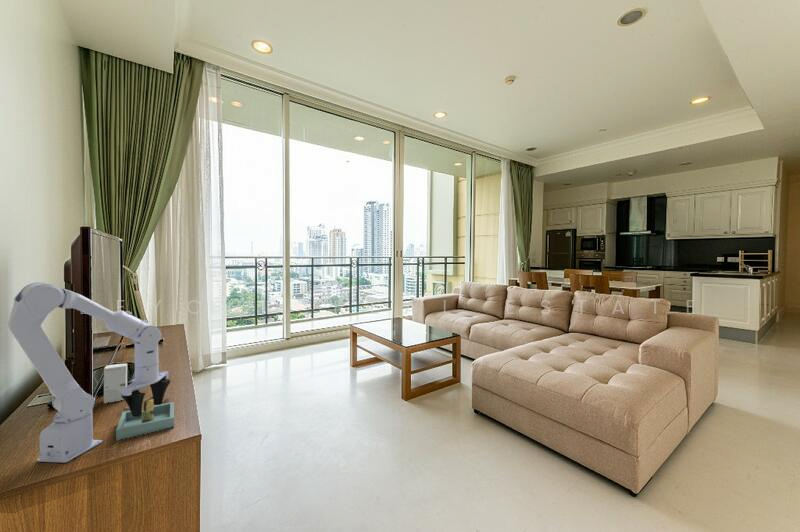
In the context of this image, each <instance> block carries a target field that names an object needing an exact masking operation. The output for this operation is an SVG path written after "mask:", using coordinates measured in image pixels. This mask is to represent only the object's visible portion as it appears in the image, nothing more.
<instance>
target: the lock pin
mask: <svg viewBox="0 0 800 532" xmlns="http://www.w3.org/2000/svg"><path fill="white" fill-rule="evenodd" d="M148 397H149V398H145V397H144V398H145V399H143V402H142V413H141V421H142V423H145V422H149V421H154V398H153V396H152V397H150V396H148Z"/></svg>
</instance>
